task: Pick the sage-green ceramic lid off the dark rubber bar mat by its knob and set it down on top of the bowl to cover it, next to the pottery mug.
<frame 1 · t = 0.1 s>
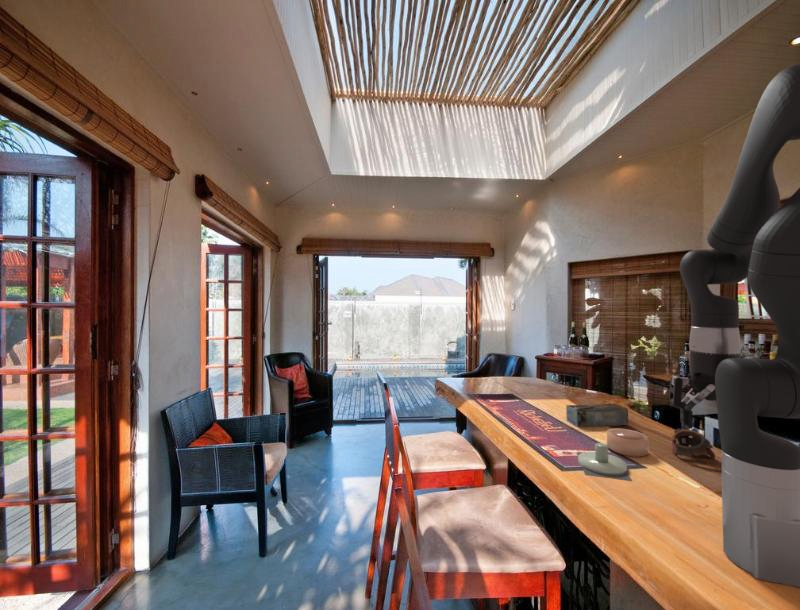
hand: (714, 429, 69), 17 cm above the bar counter, tool pointing down, fingers open, 8 cm apart
lid: (601, 465, 90), point 1 cm above the bar counter, touching bar mat
bowl: (627, 452, 99), on the bar counter
bar mat: (601, 467, 90), on the bar counter
pottery mug: (690, 456, 97), on the bar counter
beverage carton: (596, 424, 125), on the bar counter
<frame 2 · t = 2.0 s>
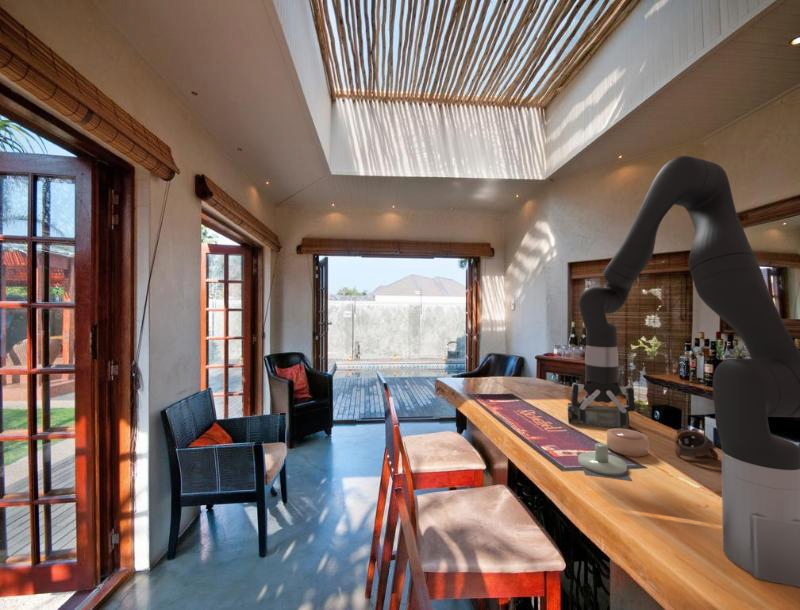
hand: (601, 424, 90), 11 cm above the bar counter, tool pointing down, fingers open, 8 cm apart
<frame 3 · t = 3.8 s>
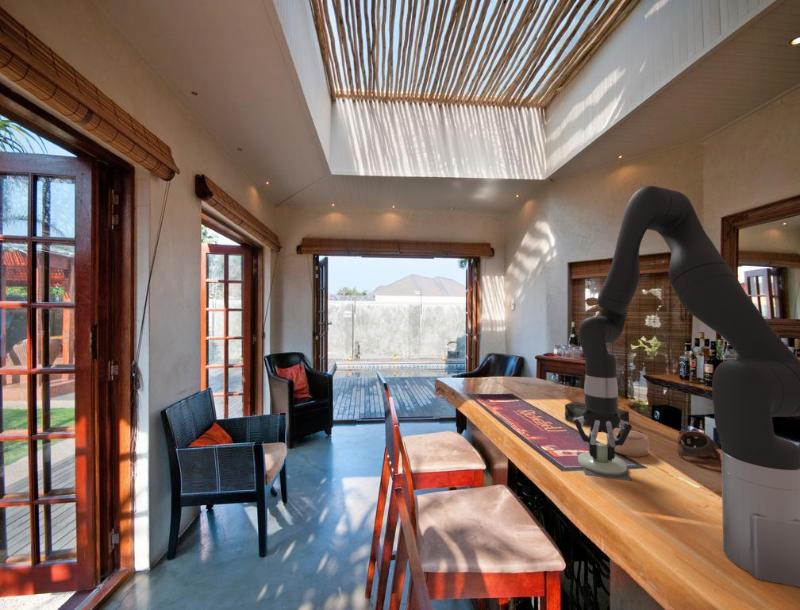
hand: (601, 458, 90), 2 cm above the bar counter, tool pointing down, fingers closed on lid, 3 cm apart
lid: (601, 465, 90), point 1 cm above the bar counter, touching bar mat, gripper
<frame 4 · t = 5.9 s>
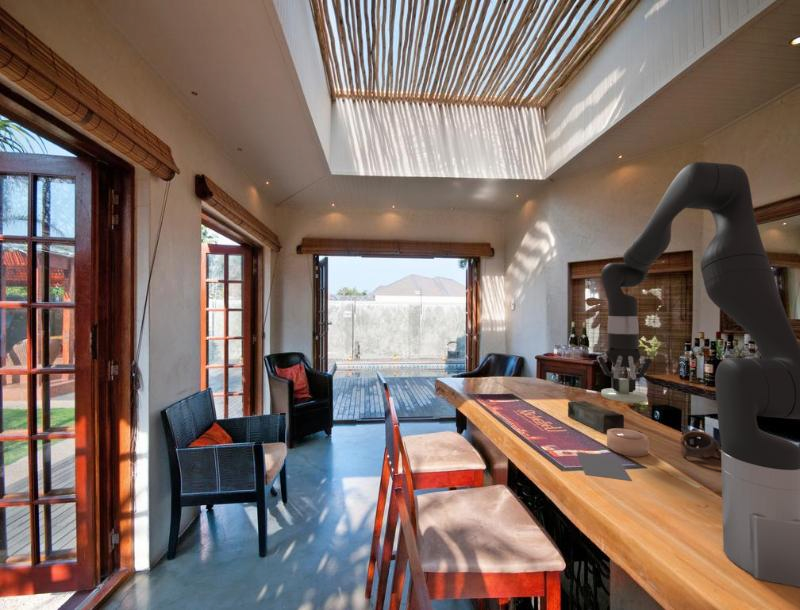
hand: (623, 391, 99), 18 cm above the bar counter, tool pointing down, fingers closed on lid, 3 cm apart
lid: (623, 397, 99), point 16 cm above the bar counter, touching gripper
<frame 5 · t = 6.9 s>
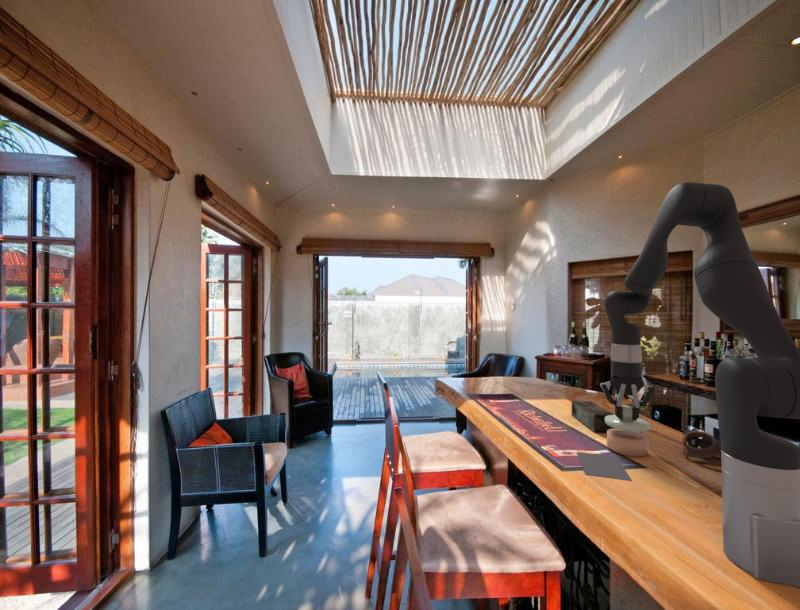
hand: (627, 418, 99), 10 cm above the bar counter, tool pointing down, fingers closed on lid, 3 cm apart
lid: (626, 424, 99), point 8 cm above the bar counter, touching gripper
when the fingers open (7 cm above the bar counter, at t = 7.9 s): lid stays where it is, resting on bowl.
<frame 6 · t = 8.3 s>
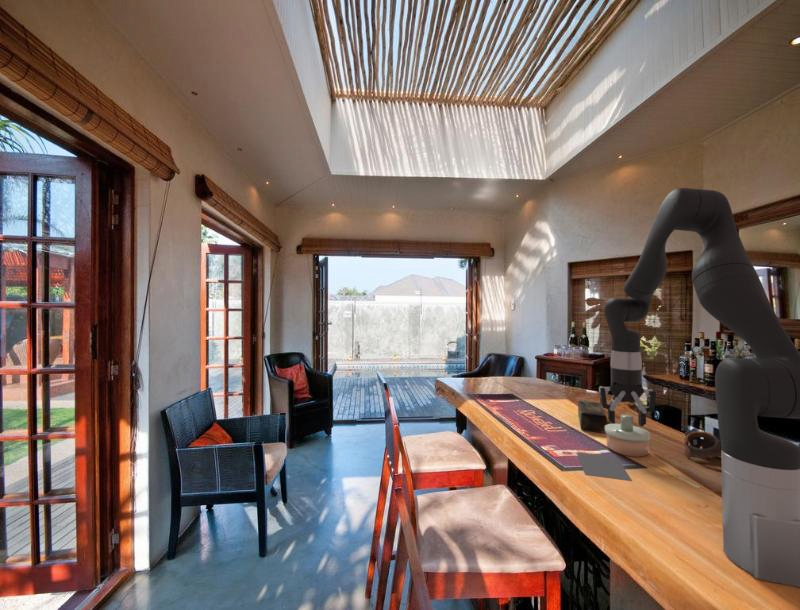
hand: (626, 424, 99), 8 cm above the bar counter, tool pointing down, fingers open, 6 cm apart
lid: (626, 434, 99), point 5 cm above the bar counter, touching bowl
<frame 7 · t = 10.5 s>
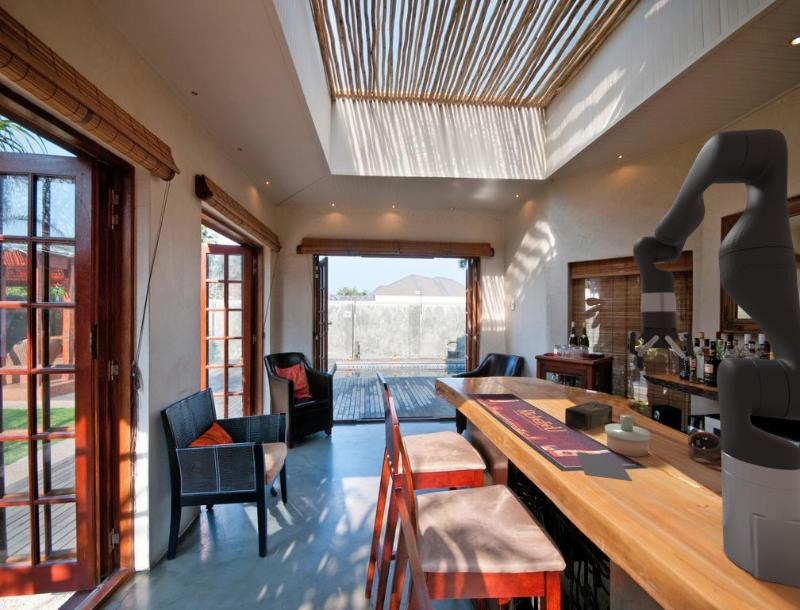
hand: (659, 371, 91), 25 cm above the bar counter, tool pointing down, fingers open, 8 cm apart
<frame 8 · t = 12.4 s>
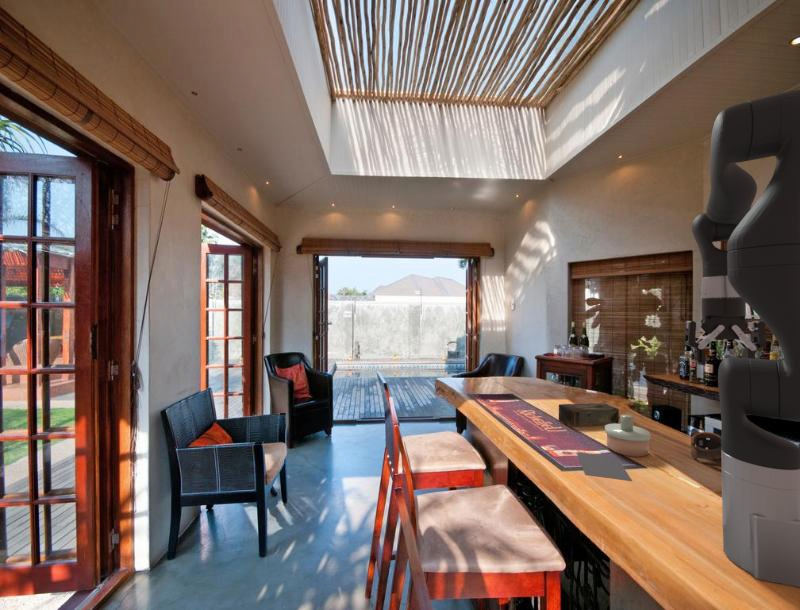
hand: (724, 365, 80), 28 cm above the bar counter, tool pointing down, fingers open, 8 cm apart
at the end: lid 0.0 cm from the bowl (horizontally); lid point 5.2 cm above the bar counter; lid tilted 0° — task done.
